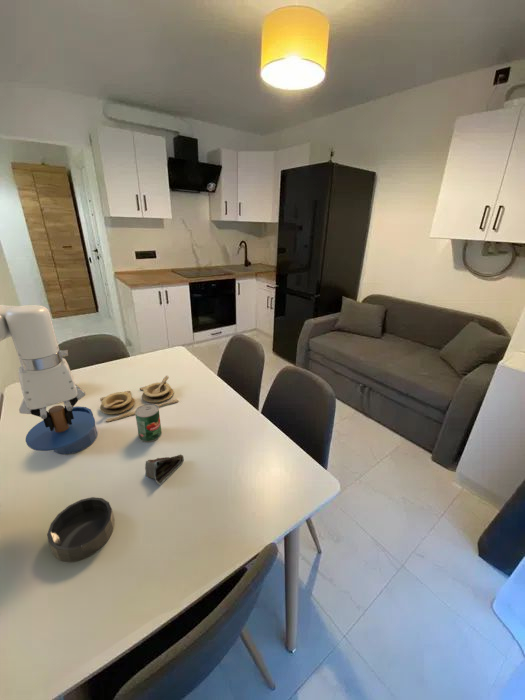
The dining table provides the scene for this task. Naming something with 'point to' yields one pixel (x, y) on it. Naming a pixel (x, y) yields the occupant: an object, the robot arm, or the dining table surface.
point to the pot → (85, 441)
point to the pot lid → (60, 430)
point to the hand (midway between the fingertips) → (60, 424)
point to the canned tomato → (148, 422)
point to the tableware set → (125, 400)
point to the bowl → (81, 529)
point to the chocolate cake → (163, 467)
